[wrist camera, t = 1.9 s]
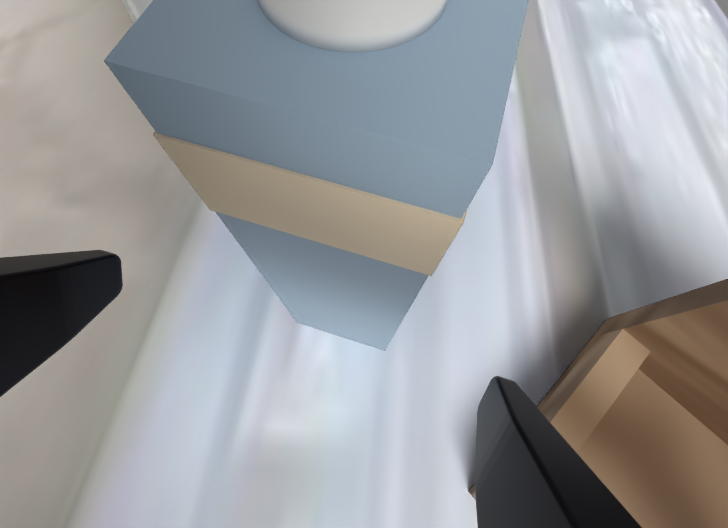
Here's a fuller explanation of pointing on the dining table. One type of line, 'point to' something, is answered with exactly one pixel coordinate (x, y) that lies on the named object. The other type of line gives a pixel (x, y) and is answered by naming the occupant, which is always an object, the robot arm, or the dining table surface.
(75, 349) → the dining table surface
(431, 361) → the dining table surface
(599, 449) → the walnut cradle
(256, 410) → the dining table surface
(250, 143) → the slate-blue roll carton
